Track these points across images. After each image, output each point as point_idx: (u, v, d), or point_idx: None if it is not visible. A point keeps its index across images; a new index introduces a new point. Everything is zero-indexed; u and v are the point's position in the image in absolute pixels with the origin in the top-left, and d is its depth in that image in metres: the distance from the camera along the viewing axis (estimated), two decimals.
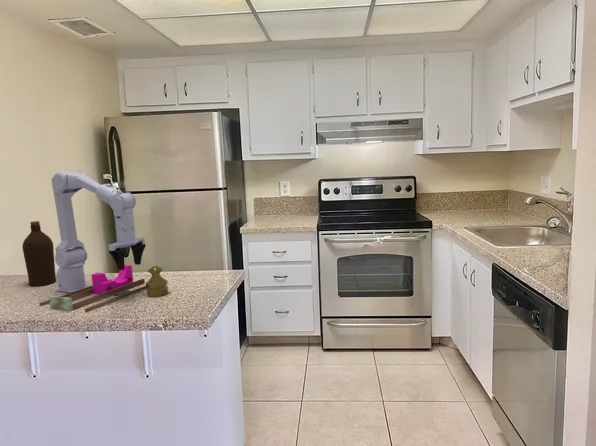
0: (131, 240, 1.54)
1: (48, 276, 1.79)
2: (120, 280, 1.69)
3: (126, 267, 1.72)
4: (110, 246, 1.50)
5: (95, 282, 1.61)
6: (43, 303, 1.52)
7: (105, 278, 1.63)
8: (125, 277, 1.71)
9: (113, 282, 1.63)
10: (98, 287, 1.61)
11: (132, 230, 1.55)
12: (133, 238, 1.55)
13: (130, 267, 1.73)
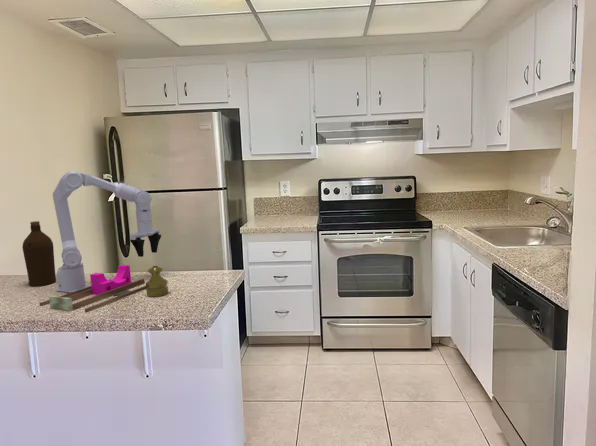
0: (149, 231, 1.78)
1: (48, 276, 1.79)
2: (118, 280, 1.69)
3: (124, 267, 1.72)
4: (131, 236, 1.74)
5: (94, 282, 1.61)
6: (43, 303, 1.52)
7: (104, 278, 1.62)
8: (123, 277, 1.71)
9: (112, 282, 1.63)
10: (97, 287, 1.61)
11: (150, 222, 1.79)
12: (151, 229, 1.79)
13: (128, 267, 1.73)
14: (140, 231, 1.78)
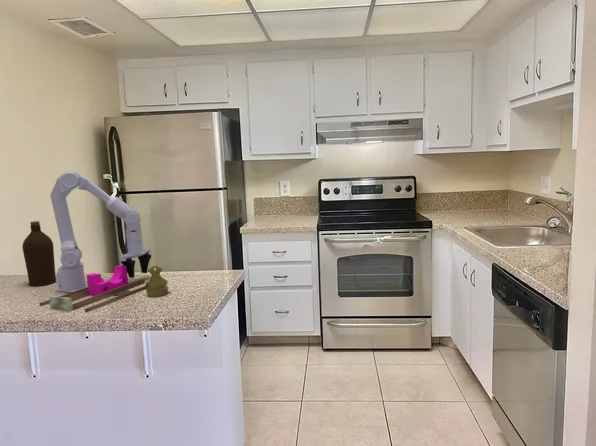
0: (139, 251, 1.74)
1: (48, 276, 1.79)
2: (115, 280, 1.67)
3: (121, 267, 1.70)
4: (121, 257, 1.69)
5: (91, 283, 1.60)
6: (43, 303, 1.52)
7: (100, 279, 1.61)
8: (120, 277, 1.69)
9: (109, 283, 1.61)
10: (93, 288, 1.59)
11: (140, 242, 1.74)
12: (141, 249, 1.75)
13: (125, 267, 1.71)
14: (130, 252, 1.73)
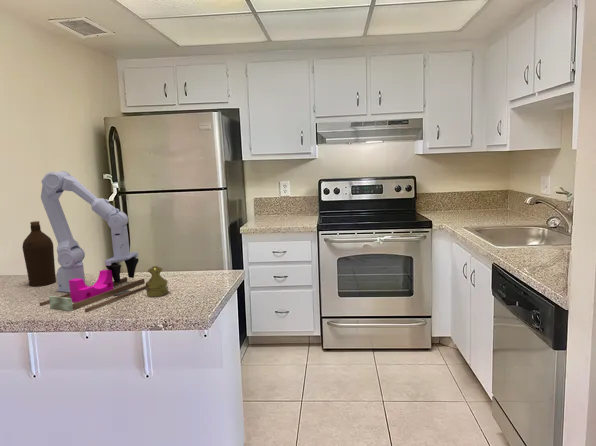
0: (126, 255, 1.68)
1: (48, 276, 1.79)
2: (99, 286, 1.61)
3: (106, 272, 1.64)
4: (106, 261, 1.63)
5: (73, 289, 1.53)
6: (43, 303, 1.52)
7: (83, 284, 1.55)
8: (105, 283, 1.63)
9: (92, 288, 1.55)
10: (76, 294, 1.53)
11: (126, 246, 1.68)
12: (127, 253, 1.68)
13: (110, 272, 1.65)
14: (116, 256, 1.67)
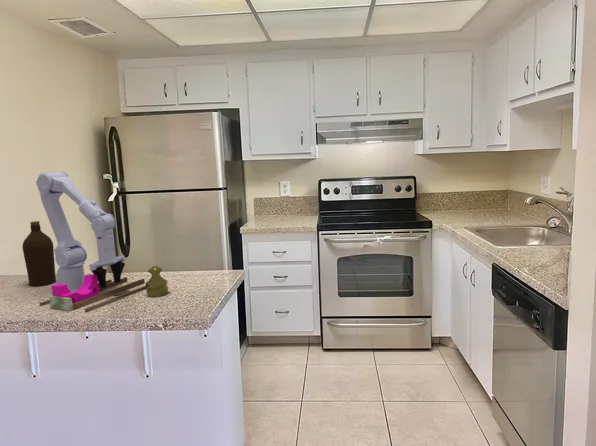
0: (111, 259, 1.62)
1: (48, 276, 1.79)
2: (84, 291, 1.55)
3: (91, 277, 1.58)
4: (91, 266, 1.57)
5: (56, 294, 1.47)
6: (43, 303, 1.52)
7: (67, 289, 1.49)
8: (90, 288, 1.57)
9: (76, 294, 1.49)
10: None
11: (112, 250, 1.62)
12: (113, 257, 1.62)
13: (95, 277, 1.59)
14: (101, 260, 1.61)
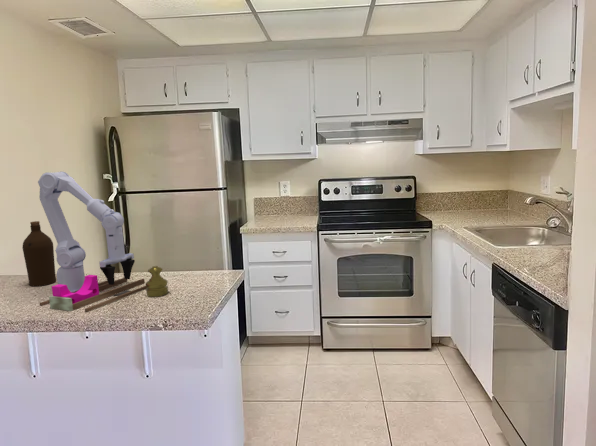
0: (121, 257, 1.66)
1: (48, 276, 1.79)
2: (84, 292, 1.55)
3: (91, 277, 1.58)
4: (101, 263, 1.61)
5: (56, 295, 1.47)
6: (43, 303, 1.52)
7: (67, 290, 1.49)
8: (90, 288, 1.57)
9: (76, 294, 1.49)
10: None
11: (121, 247, 1.66)
12: (122, 255, 1.66)
13: (95, 277, 1.59)
14: (111, 257, 1.65)
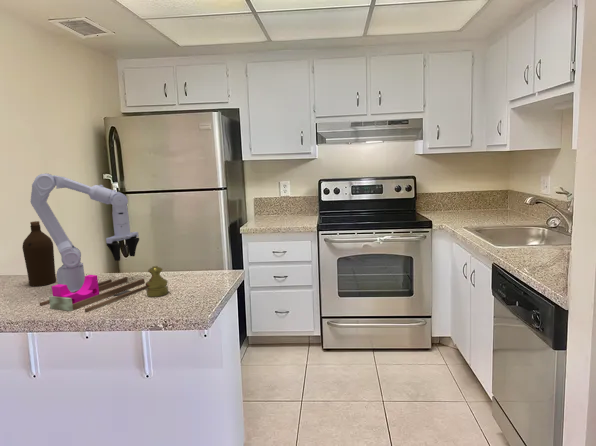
0: (126, 234, 1.73)
1: (48, 276, 1.79)
2: (84, 292, 1.55)
3: (91, 277, 1.58)
4: (107, 239, 1.68)
5: (56, 295, 1.47)
6: (43, 303, 1.52)
7: (67, 290, 1.49)
8: (90, 288, 1.57)
9: (76, 294, 1.49)
10: None
11: (127, 225, 1.73)
12: (128, 232, 1.74)
13: (95, 277, 1.59)
14: (117, 234, 1.72)
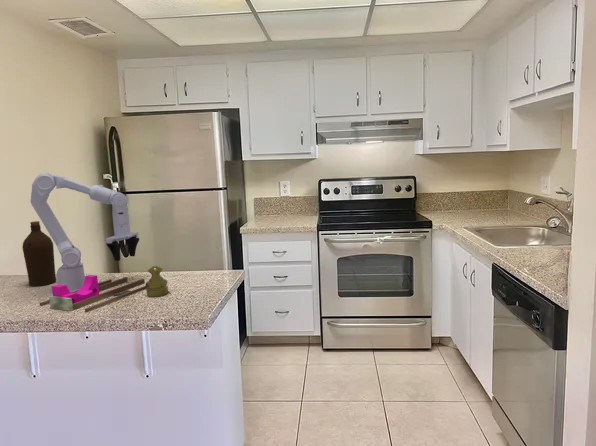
0: (126, 234, 1.73)
1: (48, 276, 1.79)
2: (84, 292, 1.55)
3: (91, 277, 1.58)
4: (107, 239, 1.68)
5: (56, 295, 1.47)
6: (43, 303, 1.52)
7: (67, 290, 1.49)
8: (90, 288, 1.57)
9: (76, 294, 1.49)
10: None
11: (127, 225, 1.73)
12: (128, 232, 1.74)
13: (95, 277, 1.59)
14: (117, 234, 1.72)
